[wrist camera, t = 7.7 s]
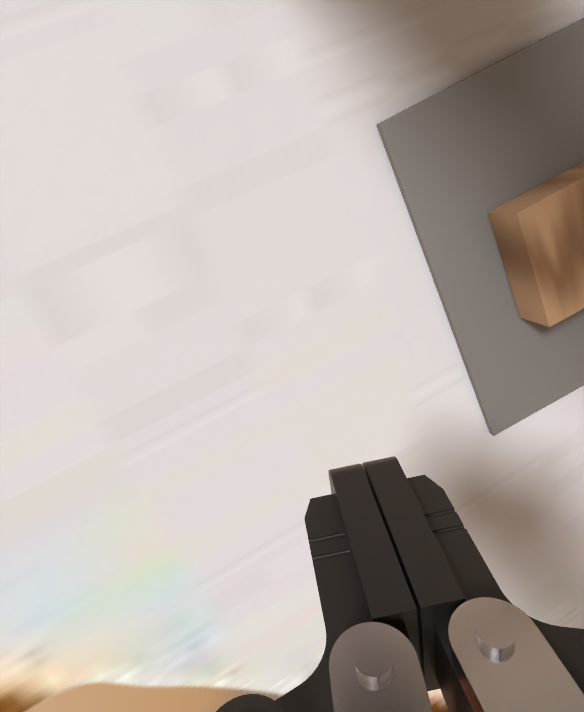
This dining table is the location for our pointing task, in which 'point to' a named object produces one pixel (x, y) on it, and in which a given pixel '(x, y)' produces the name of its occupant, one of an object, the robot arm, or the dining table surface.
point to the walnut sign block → (545, 247)
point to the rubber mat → (485, 193)
